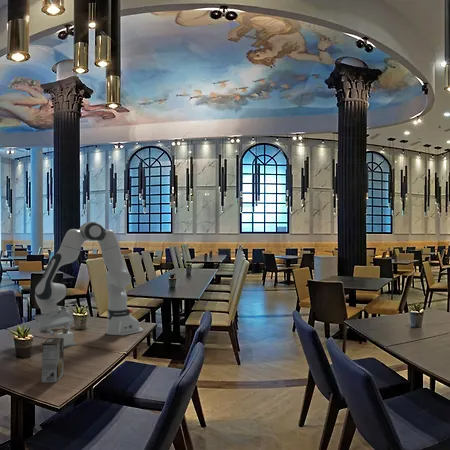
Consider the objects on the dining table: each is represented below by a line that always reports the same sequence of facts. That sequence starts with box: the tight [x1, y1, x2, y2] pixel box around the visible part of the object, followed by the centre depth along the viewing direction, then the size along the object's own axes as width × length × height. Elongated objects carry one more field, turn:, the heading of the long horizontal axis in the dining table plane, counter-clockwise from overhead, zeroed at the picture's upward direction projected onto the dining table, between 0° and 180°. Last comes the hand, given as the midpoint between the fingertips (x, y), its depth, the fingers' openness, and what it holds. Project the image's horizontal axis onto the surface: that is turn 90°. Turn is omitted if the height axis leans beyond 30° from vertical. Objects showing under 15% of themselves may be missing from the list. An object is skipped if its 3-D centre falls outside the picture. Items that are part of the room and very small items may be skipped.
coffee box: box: [41, 337, 65, 383], centre depth 173 cm, size 9×6×16 cm
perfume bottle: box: [56, 327, 75, 346], centre depth 223 cm, size 6×6×8 cm
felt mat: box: [64, 342, 78, 348], centre depth 223 cm, size 9×9×1 cm
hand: (60, 333), depth 225 cm, fingers open, 8 cm apart
